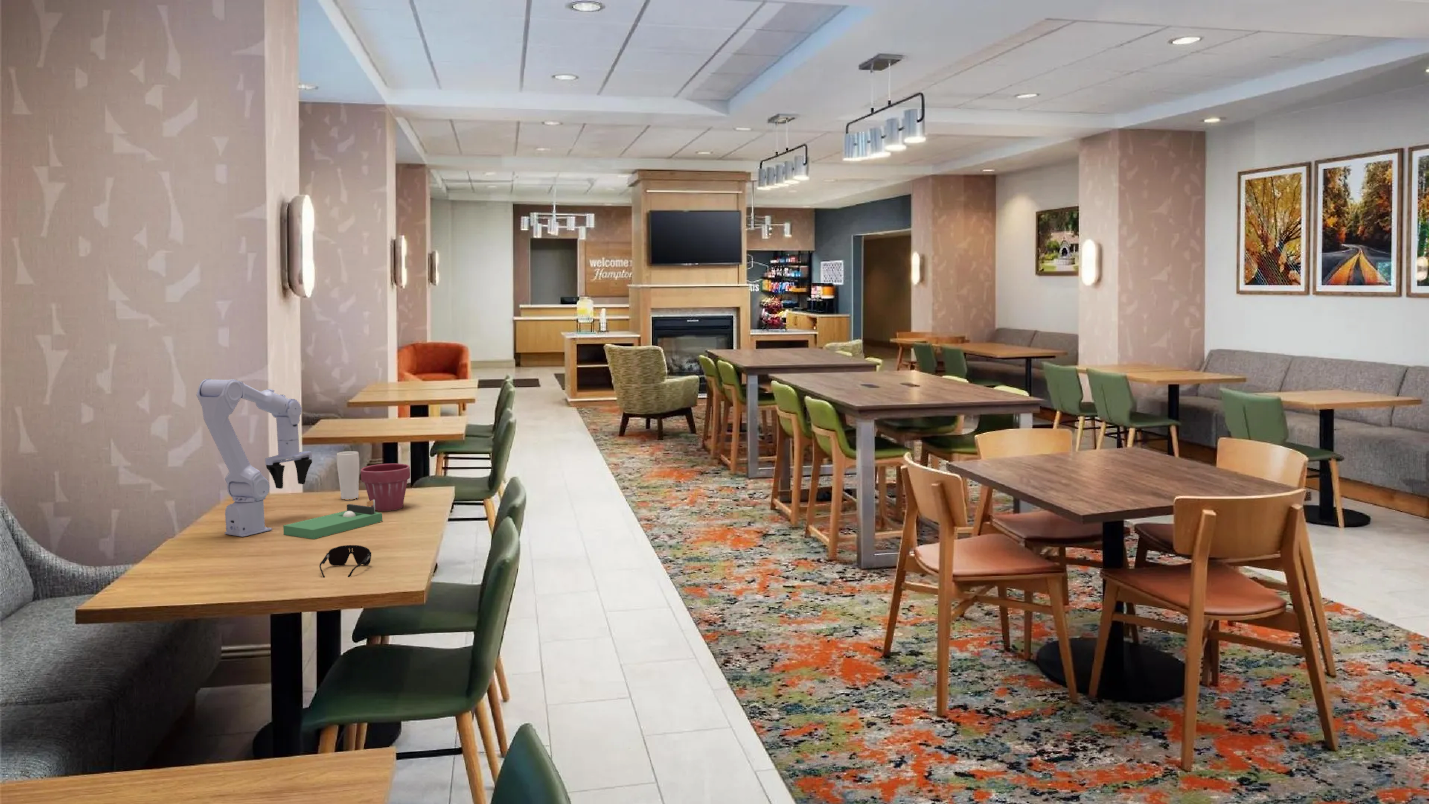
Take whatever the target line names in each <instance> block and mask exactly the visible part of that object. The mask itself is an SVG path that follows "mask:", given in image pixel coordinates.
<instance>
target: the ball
mask: <svg viewBox="0 0 1429 804" xmlns="http://www.w3.org/2000/svg"><path fill="white" fill-rule="evenodd" d="M346 511H347V510H346ZM354 516H356V515H355V513H354V512H352V511H347V512H345V513H344V514H343V517H354Z"/></svg>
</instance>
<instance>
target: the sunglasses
mask: <svg viewBox="0 0 1429 804" xmlns="http://www.w3.org/2000/svg"><path fill="white" fill-rule="evenodd" d="M325 554H326V555H325V556H324V557H323V558H322V561H320V563H319V570H320V572H321V575H322V576H321V577H323V578H326V576H325V574H324V571H323V569H322V565H325V564H326V562H327V560H328V562H329V565H331V566H333V565H339V566H346V563H347V562H348V560H349V558H350V555H352V557H353V558H354V561H355V563H356V564H357V565H356V566H355V567H353V568H352V569H351V570H350V572H349V574H348V575H347V577H348V578H350V576H352V574H353V572H354V571H355V570H356V569H357V568H358V567H360V566H362V565H361V564H364V565H363V566H368V565H370V563H371V559H372V552H371V550H370V548H368V547H367V546H363V545H356V544H346V545H338V546H336V547H333V548H330V549H329V550H328V552H326V553H325ZM358 564H359V565H358Z"/></svg>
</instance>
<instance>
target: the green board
mask: <svg viewBox="0 0 1429 804" xmlns="http://www.w3.org/2000/svg"><path fill="white" fill-rule="evenodd" d="M372 505H373V507H371V506H372ZM347 511H352V512H354V513H355V515H356V516H354V517H343V514H344V513H345V512H347ZM380 521H382V522H383V512H379V511H375V500H372V501H369V500H368V501H366V505H361V504H353V503H347V504H346V510H344V511H339V512H335V513H331V514H326V515H323V516H318V517H317V516H316V517H313V518H310V519H309V518H308V519H305V520H300V521H295V522H291V523H289V524H284V525H283V526H282V527H283V529H282V530H283V535H284V536H290V537H297V538H303V537H304V539H309V540H310V539H311V540H315V539H320V538H323V537H322V536H324V537H327V536H331V534H332V535H335V534H334V533H336V534H340V533H344V532H346V530H347V531H351V530H355V529H358V527H359V528H363V527H367V526H370V525H369V524H371V525H375V524H378V523H377V522H379V523H381V522H380ZM374 523H375V524H374ZM366 525H367V526H366ZM354 528H355V529H354ZM343 531H344V532H343ZM319 537H320V538H319Z"/></svg>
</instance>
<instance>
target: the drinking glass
mask: <svg viewBox="0 0 1429 804" xmlns="http://www.w3.org/2000/svg"><path fill="white" fill-rule="evenodd" d="M336 469H337V474H338V481H339V483H338V484H339V491H340V498H341V500H342V499H354V498H357V499H358V498H359V497H360V495H359V489H360V488H359V487H360V485H359V484H360V454H359V451H353V450H352V451H350V450H349V451H340V452H337V453H336Z"/></svg>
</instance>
